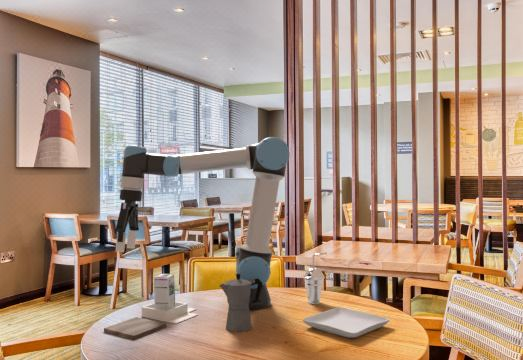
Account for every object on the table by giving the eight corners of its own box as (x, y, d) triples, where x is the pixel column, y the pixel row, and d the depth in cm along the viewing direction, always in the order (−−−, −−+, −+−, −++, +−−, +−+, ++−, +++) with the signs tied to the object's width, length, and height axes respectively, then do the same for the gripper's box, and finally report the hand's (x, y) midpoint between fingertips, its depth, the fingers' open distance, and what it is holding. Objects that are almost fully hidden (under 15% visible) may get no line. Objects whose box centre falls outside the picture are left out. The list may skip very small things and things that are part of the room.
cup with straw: (312, 298, 192) (311, 249, 192) (330, 302, 186) (329, 251, 186) (298, 302, 186) (298, 252, 186) (317, 307, 180) (316, 254, 180)
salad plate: (338, 315, 171) (338, 305, 171) (391, 328, 156) (391, 317, 155) (300, 328, 156) (300, 318, 156) (354, 344, 141) (354, 333, 141)
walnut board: (165, 327, 158) (165, 323, 158) (134, 339, 146) (134, 335, 146) (136, 320, 165) (136, 317, 165) (103, 332, 154) (103, 328, 154)
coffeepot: (225, 334, 150) (224, 278, 150) (215, 326, 158) (214, 272, 158) (268, 327, 156) (268, 273, 156) (257, 319, 165) (256, 268, 165)
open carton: (206, 311, 175) (206, 302, 175) (176, 323, 161) (176, 313, 161) (173, 305, 184) (173, 296, 184) (141, 316, 170) (141, 306, 170)
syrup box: (169, 317, 168) (168, 277, 168) (154, 316, 170) (153, 276, 169) (175, 313, 174) (175, 273, 174) (160, 312, 175) (160, 273, 175)
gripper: (130, 190, 179) (124, 246, 177) (110, 187, 154) (103, 252, 153) (150, 191, 179) (144, 247, 178) (132, 189, 154) (126, 254, 153)
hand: (125, 250), depth 165 cm, fingers open, 13 cm apart
